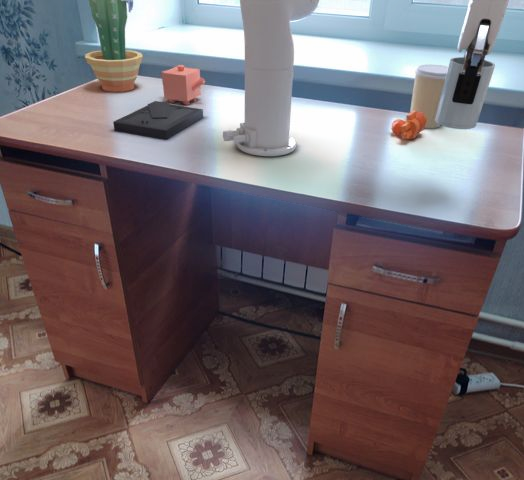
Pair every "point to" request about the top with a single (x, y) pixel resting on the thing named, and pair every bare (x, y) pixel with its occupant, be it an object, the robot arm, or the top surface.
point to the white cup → (458, 112)
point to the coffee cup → (428, 91)
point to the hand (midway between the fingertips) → (462, 95)
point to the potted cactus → (113, 46)
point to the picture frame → (158, 120)
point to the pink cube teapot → (182, 84)
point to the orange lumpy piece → (410, 125)
